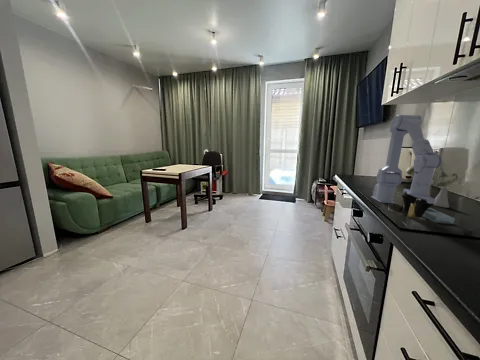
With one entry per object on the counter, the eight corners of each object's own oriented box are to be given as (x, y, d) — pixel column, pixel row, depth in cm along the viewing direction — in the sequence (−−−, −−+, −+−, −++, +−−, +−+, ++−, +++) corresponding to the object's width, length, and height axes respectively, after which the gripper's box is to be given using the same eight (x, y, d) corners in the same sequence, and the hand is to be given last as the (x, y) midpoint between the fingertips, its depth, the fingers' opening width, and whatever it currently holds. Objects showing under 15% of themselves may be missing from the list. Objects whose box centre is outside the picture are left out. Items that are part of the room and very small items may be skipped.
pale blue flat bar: (407, 208, 98) (408, 203, 97) (422, 209, 97) (423, 204, 97) (434, 222, 82) (436, 216, 82) (453, 223, 82) (454, 218, 81)
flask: (433, 206, 103) (438, 187, 101) (428, 202, 110) (433, 184, 107) (452, 209, 100) (458, 190, 98) (445, 205, 107) (451, 187, 104)
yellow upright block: (405, 215, 88) (408, 202, 86) (412, 216, 87) (416, 203, 86) (410, 218, 85) (414, 205, 83) (418, 219, 85) (421, 205, 83)
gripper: (399, 178, 90) (391, 206, 93) (424, 186, 76) (415, 220, 79) (415, 179, 89) (408, 208, 92) (444, 188, 75) (434, 221, 78)
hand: (412, 213), depth 86 cm, fingers open, 6 cm apart
